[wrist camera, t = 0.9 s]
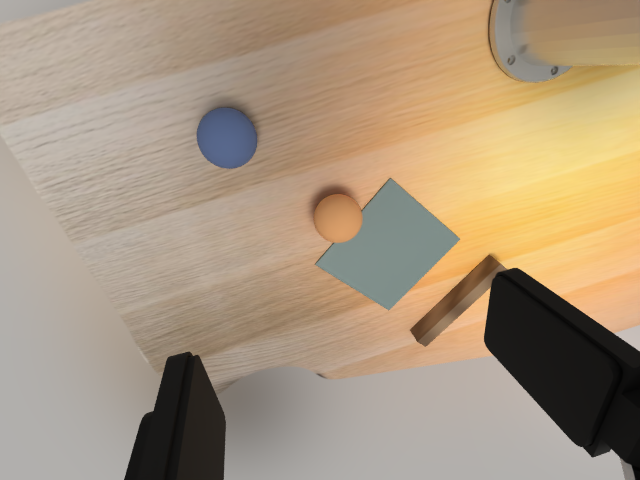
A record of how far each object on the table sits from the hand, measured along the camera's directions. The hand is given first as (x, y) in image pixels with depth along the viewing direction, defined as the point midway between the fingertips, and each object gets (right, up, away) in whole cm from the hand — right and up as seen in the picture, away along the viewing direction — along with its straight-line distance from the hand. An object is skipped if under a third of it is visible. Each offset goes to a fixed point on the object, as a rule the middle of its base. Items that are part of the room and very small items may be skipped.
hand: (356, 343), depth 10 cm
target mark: (+8, +2, +33) cm, 34 cm away
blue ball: (-10, +13, +20) cm, 26 cm away
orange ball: (+1, +6, +26) cm, 27 cm away
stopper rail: (+18, -5, +39) cm, 43 cm away
